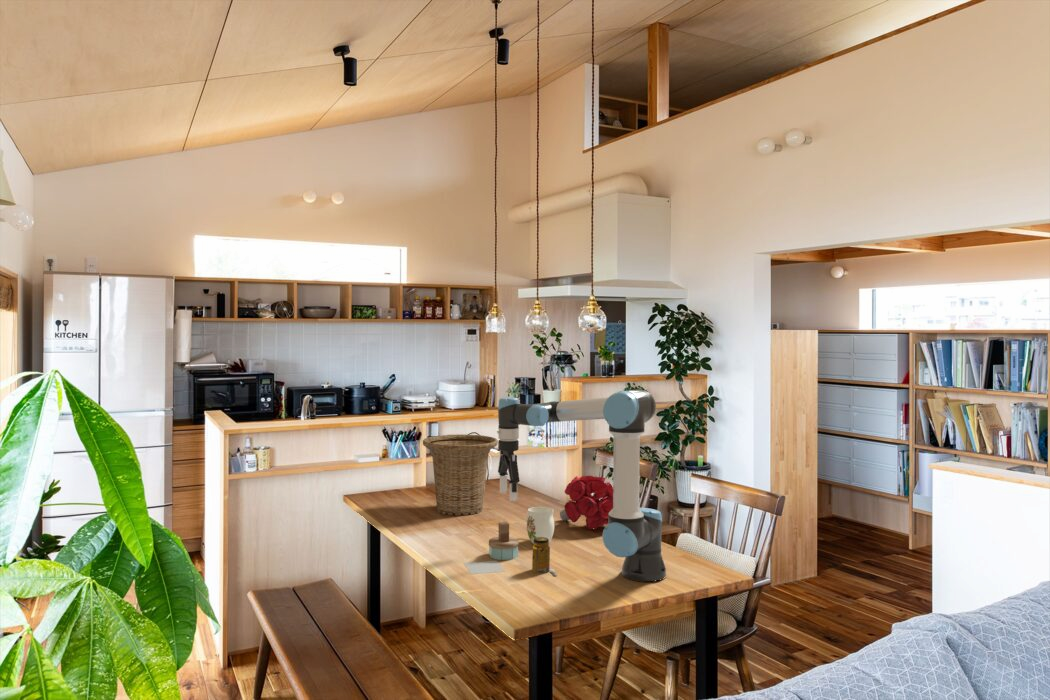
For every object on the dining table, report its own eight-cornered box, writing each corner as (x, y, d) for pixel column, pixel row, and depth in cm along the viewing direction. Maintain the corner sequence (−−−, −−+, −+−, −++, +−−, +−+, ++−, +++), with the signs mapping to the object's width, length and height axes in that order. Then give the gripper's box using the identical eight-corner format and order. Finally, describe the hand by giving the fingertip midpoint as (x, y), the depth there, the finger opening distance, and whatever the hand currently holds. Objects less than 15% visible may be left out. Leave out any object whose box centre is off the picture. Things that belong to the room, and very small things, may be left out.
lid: (522, 547, 266) (522, 526, 266) (493, 550, 263) (493, 528, 263) (513, 539, 277) (514, 518, 277) (485, 541, 274) (485, 520, 273)
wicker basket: (469, 523, 318) (470, 447, 317) (406, 513, 335) (407, 441, 334) (511, 507, 348) (511, 438, 347) (451, 498, 366) (451, 432, 365)
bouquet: (553, 543, 313) (599, 520, 294) (537, 490, 322) (581, 465, 303) (588, 537, 327) (634, 515, 308) (572, 487, 336) (616, 463, 317)
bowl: (520, 561, 267) (520, 547, 267) (493, 563, 264) (494, 549, 264) (512, 553, 276) (512, 540, 276) (487, 555, 273) (487, 542, 273)
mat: (505, 573, 253) (505, 571, 253) (471, 576, 249) (471, 574, 249) (496, 562, 264) (496, 560, 264) (463, 565, 261) (464, 563, 261)
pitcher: (538, 534, 301) (538, 501, 301) (563, 545, 286) (563, 511, 286) (515, 538, 296) (516, 504, 295) (539, 549, 280) (540, 514, 280)
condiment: (530, 570, 257) (530, 536, 257) (554, 569, 258) (554, 535, 257) (532, 576, 250) (532, 542, 249) (557, 576, 250) (557, 541, 250)
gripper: (490, 435, 280) (490, 490, 280) (507, 444, 256) (507, 504, 256) (508, 434, 282) (508, 489, 282) (528, 443, 258) (528, 503, 259)
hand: (508, 496), depth 269 cm, fingers open, 13 cm apart
